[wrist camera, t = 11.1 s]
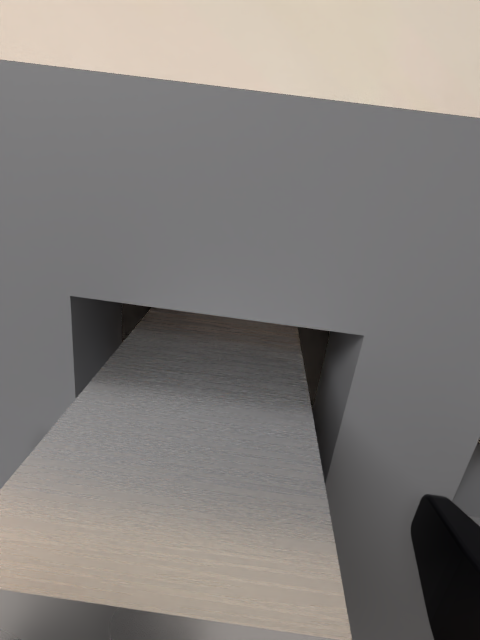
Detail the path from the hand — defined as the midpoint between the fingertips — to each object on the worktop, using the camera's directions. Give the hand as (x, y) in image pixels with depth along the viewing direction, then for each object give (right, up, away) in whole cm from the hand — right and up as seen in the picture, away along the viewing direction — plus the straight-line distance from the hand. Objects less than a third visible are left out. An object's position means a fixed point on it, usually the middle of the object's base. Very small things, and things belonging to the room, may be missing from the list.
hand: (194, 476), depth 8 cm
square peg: (0, +2, +4) cm, 4 cm away
